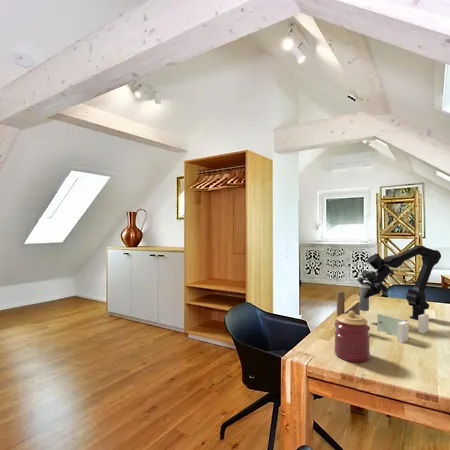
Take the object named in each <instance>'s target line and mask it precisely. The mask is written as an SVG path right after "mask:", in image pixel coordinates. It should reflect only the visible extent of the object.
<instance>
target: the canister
mask: <svg viewBox="0 0 450 450" xmlns="http://www.w3.org/2000/svg"><path fill="white" fill-rule="evenodd" d="M336 320H338V321H336ZM336 320H335V321H336V322H334V324H333V325H334V327H335V326H336V327H335V330H334V332H333V333H334V348H333V350H334V354H335V356H336V357H337V358H338V359H339V358H340V359H341V360H344V361H348V362H350V363H351V362H353V363H364V362H365V363H366V362H368V361H369V360H370V356H371V351H370V343H371V342H370V338H371V335H370V334H369V331H370V329H371V327H370V325H368V322H369V321H368V320H367V319H366V318H365V317H363V316H361V315H356V314H355V312H354V311H349V313H348V314H342V315H340V316H338V317H337V316H336Z"/></svg>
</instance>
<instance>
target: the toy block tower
mask: <svg viewBox="0 0 450 450" xmlns="http://www.w3.org/2000/svg"><path fill="white" fill-rule="evenodd" d="M345 295H346V294H345V291H343V290H338V291H336V318H337V317H338V316H340V315H342V314H348V313H349V311H354V312H355V314H356V315H360V314H361V313H360V312H361V310H360V301H358V302H356V303H355V304H354V305H353V306H351V307H350V308H349V309H347V310H345ZM360 316H361V315H360ZM336 321H338V320H337V319H336V320H335V322H336ZM335 322H334V323H335ZM334 327H335V328H336V326H335V325H334Z"/></svg>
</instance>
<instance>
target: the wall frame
mask: <svg viewBox="0 0 450 450" xmlns="http://www.w3.org/2000/svg"><path fill="white" fill-rule="evenodd" d="M429 315H430V314H428V313H425V314H422V315H419V316H418V319H417V320H418V321H417V322H418V323H417V324H418V326H417V327H418V330H417V333H418V334H419V333H420V334H425V333H428V332H429V327H430V325H429V320H430V319H429V317H430V316H429ZM407 341H409V321H407V322H405V321H403V322H400V323H398V336H397V343H398V342H399V343H401V344H402V343H405V342H407Z"/></svg>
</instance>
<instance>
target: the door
mask: <svg viewBox="0 0 450 450" xmlns="http://www.w3.org/2000/svg"><path fill="white" fill-rule="evenodd" d="M376 317H377V319H376V320H377V330H376V331H380V332H383V333H385V334H389V335H392V336H395V337H396V336H397V337H398V323H400V322H403V321H405V322H408V320H406V319H402V318H399V317H394V316H391V315H387V314H383V313H377V316H376Z"/></svg>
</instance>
